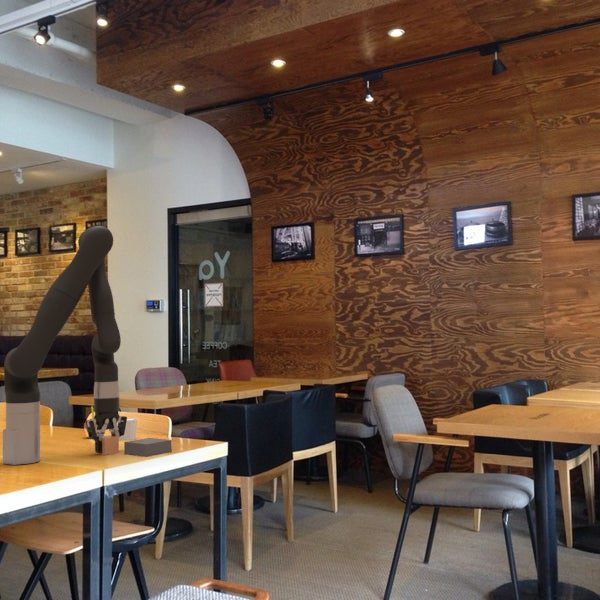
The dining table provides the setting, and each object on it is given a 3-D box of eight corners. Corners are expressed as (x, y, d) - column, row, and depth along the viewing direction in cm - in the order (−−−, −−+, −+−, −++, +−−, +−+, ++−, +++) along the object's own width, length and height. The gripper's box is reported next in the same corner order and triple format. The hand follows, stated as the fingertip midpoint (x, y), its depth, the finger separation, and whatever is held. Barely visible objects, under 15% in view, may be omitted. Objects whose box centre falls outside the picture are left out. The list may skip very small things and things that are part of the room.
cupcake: (95, 439, 243) (95, 405, 244) (78, 438, 247) (78, 404, 248) (113, 436, 251) (113, 403, 251) (96, 435, 255) (96, 402, 255)
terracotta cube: (105, 455, 209) (105, 438, 209) (95, 453, 212) (95, 437, 212) (118, 452, 213) (118, 436, 213) (108, 451, 216) (108, 435, 216)
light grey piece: (132, 440, 239) (131, 420, 239) (113, 440, 240) (113, 420, 240) (140, 437, 245) (140, 418, 246) (122, 437, 247) (122, 418, 247)
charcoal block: (146, 458, 204) (146, 444, 204) (124, 455, 210) (124, 442, 210) (171, 453, 212) (171, 439, 212) (149, 450, 218) (149, 437, 218)
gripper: (94, 398, 205) (94, 456, 204) (133, 394, 217) (133, 449, 216) (79, 397, 210) (79, 454, 209) (118, 394, 221) (118, 447, 220)
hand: (107, 451), depth 212 cm, fingers closed on terracotta cube, 5 cm apart
